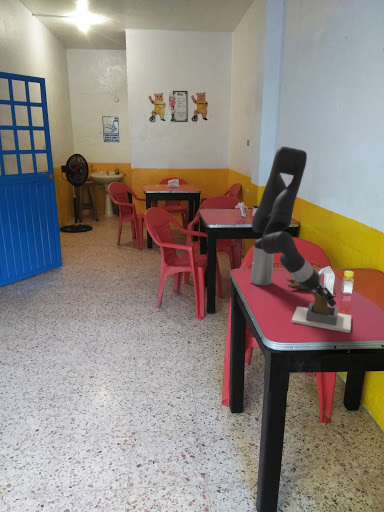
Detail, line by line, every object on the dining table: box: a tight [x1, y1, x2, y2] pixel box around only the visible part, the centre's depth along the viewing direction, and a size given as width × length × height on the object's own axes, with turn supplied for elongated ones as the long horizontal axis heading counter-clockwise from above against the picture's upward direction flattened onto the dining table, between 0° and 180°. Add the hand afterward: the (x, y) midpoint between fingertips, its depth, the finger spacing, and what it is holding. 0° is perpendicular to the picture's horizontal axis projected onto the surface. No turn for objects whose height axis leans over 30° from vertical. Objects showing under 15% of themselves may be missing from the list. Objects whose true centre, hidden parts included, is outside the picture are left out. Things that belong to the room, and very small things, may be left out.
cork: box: [312, 292, 329, 315], centre depth 145 cm, size 6×6×11 cm
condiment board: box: [291, 302, 352, 334], centre depth 147 cm, size 20×14×4 cm
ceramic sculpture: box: [286, 273, 322, 290], centre depth 180 cm, size 11×9×15 cm
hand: (327, 301), depth 146 cm, fingers open, 6 cm apart
